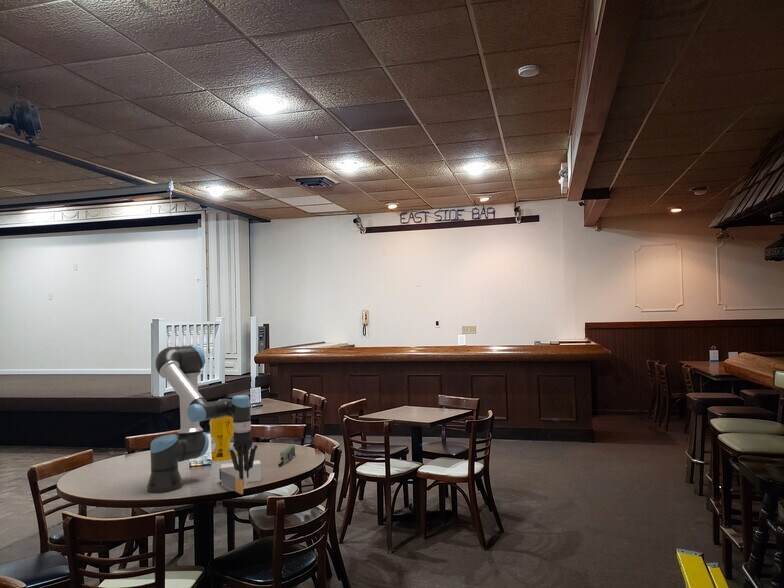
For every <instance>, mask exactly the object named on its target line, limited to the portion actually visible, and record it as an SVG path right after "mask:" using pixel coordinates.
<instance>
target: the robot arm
mask: <svg viewBox="0 0 784 588" xmlns="http://www.w3.org/2000/svg"><path fill="white" fill-rule="evenodd" d="M154 363H155V369H156V371H157V373H158V374H159V376H160V377H161V378H162V379H165V380H166V381H167V382H168V384H169V385H170V386H171V388H172V389H173V390H174V391H175V393H176V394H177V395H178V397H179V412H180V413H179V415H180V418H179V419H180V429H179V430H178V431H177V434H175V433H174V434H173V433H171V434H167V435H162V436H158V437H156V438H154V439H152V441H151V442H150V447H149V448H150V450H149V451H150V452H149V453H150V475H149V478H148V482H147V484H146V485H147V486H146V491H147V492H148V491H149V492H148V493H153V492H160V493H166V492H167V493H168V492H171V491H176V490H178V489H181V488H182V487H183V480H182V476H181V474H180V471H179V463H181V462H184V461H185V462H186V461H188V460H189V461H190V460H195V459H198V458H201V457H203V456H204V455H205V454H206V453H207V452H208V449H209V445H210V443H209V442H210V440H209V437H208V434H207V433H206V432H204V429H203V427H201V425H200V423H201V422H203V421H208V420H209V421H210V420H211V419H216V418H221V417H232V418H233V431H234V433H233V445H232V447H231V449H229V450H228V452H229V453H230V454H231V458H232V459H231V461H232V462H231V463H233V465H234V469H235V470H237V471H239V478H240V479H243V488H244V487H248V483H247V478H248V477H249V472H248V471H249V470H250V468H252V467H253V462H254V461H255V456H256V451H257V449H258V445H256V444H253V441H252V431H251V430H252V421H251V420H252V419H251V417H252V416H251V400H250V399H251V398H250V396H249V395H247V394H239V395H234V396H233V397H232V399H231V398H230V399H229V398H222V399H221V398H220V399H218V400H214V401H207V400H206V399H205V398H204V397H203V395H202V394H201V393H200V392H199V378H198V376H200V375H201V373H202V372H201V371H202V370H203V368H204V367H205V365H206V356H205V353H204V351H203V350H202V348H201V347H200V346H198V345H185V346H183V345H182V346H169V347H165V348H163V349H162V350H160V351H159V353H158V354H157V356H156V358H155V362H154ZM235 451H236V452H237V454H238V457H237V458H236V455H235V453H234V452H235ZM243 462H244V470H243ZM180 487H181V488H180Z"/></svg>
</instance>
